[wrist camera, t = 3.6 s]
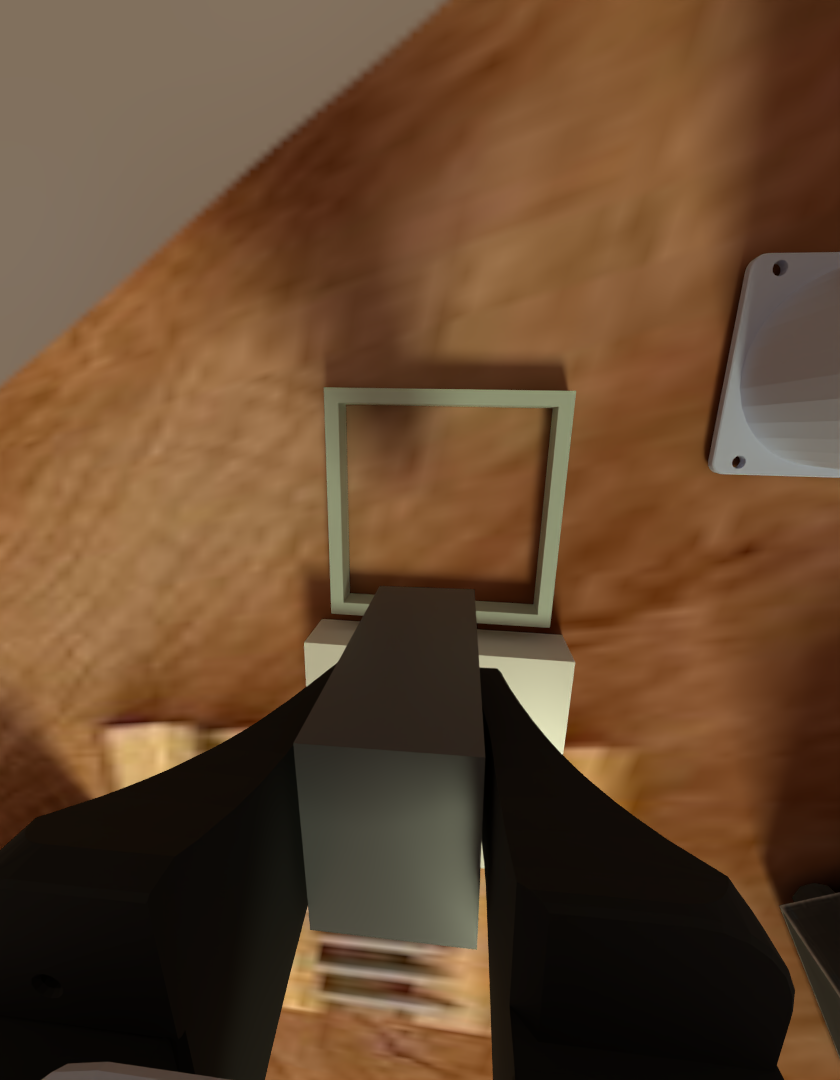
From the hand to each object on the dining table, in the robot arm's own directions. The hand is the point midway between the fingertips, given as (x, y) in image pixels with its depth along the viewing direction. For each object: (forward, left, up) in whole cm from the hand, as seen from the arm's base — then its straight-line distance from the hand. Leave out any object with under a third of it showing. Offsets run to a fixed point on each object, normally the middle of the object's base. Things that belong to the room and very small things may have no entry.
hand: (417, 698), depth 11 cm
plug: (0, 0, -3) cm, 3 cm away
